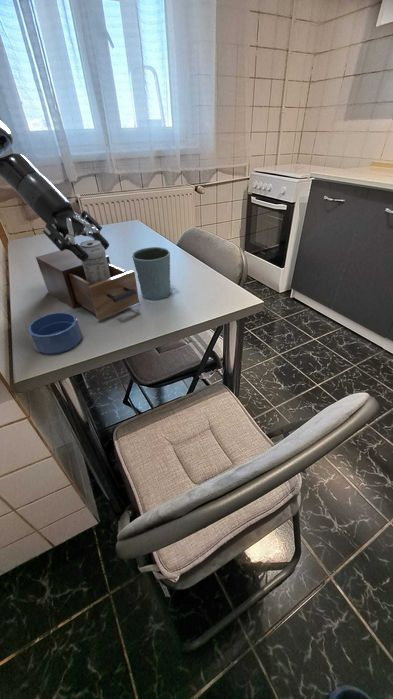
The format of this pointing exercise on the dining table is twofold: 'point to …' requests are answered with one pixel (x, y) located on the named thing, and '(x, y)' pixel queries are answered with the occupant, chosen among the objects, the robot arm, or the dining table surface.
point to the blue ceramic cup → (153, 272)
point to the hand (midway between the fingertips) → (97, 253)
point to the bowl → (55, 332)
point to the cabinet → (60, 274)
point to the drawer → (105, 291)
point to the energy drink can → (95, 262)
